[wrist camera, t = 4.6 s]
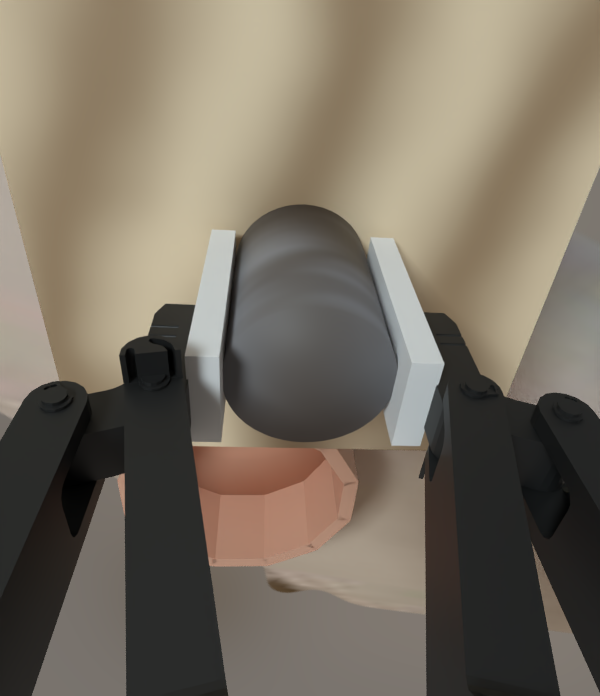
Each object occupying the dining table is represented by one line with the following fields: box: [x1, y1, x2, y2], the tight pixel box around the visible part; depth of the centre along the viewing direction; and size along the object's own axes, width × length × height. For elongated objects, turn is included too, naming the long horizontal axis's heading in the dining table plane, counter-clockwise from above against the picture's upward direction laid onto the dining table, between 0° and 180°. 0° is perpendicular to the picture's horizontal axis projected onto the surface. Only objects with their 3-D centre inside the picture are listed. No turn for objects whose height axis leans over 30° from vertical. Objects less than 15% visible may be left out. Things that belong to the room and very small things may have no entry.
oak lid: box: [0, 0, 600, 450], centre depth 16 cm, size 18×18×7 cm
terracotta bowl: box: [118, 446, 359, 566], centre depth 40 cm, size 16×16×7 cm
